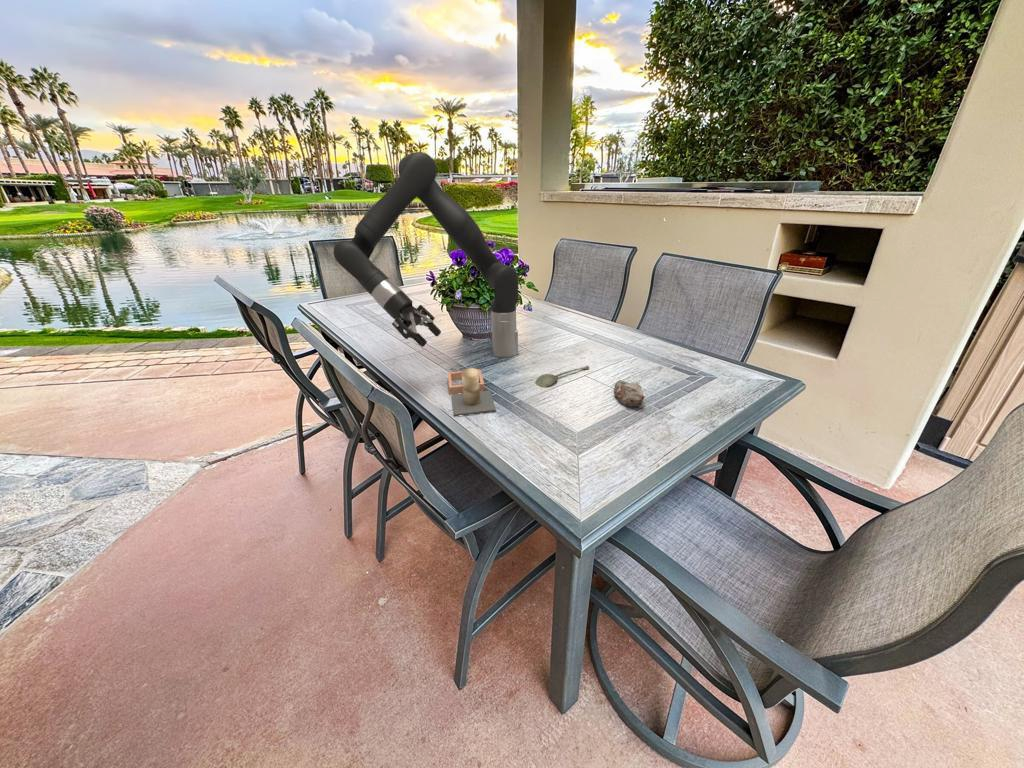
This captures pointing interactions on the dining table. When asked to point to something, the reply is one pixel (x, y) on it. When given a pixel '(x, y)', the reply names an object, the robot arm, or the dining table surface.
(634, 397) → the mineral rock
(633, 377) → the dining table surface
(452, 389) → the terracotta collar
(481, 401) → the charcoal mat
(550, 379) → the soupspoon
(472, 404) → the maple post
